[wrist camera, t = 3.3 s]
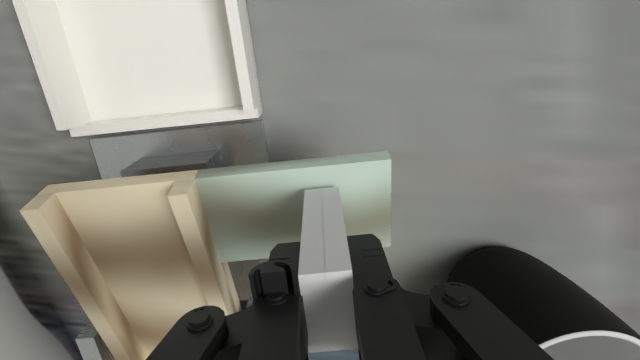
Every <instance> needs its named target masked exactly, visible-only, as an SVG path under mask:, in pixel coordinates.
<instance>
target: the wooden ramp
mask: <svg viewBox="0 0 640 360" xmlns="http://www.w3.org/2000/svg"><path fill="white" fill-rule="evenodd" d="M329 187H339V193H340V199H341V205H342V211H343V217H344V223H345V229H346V236H352V235H362V234H373V235H375V236H376V237H377V238H378V239H380V241H381V244H382V247H391V157H390V155H389V153H388V151H379V152H369V153H359V154H349V155H339V156H330V157H320V158H310V159H300V160H290V161H280V162H270V163H260V164H250V165H240V166H230V167H220V168H211V169H201V170H191V171H181V172H171V173H161V174H151V175H141V176H131V177H121V178H111V179H102V180H92V181H82V182H72V183H62V184H52V185H47V186H46V187H45V188H44V189H43V190H42V191H41V192H39V193H38V194H37V195H36V196H35V197H34V198H33V199H32V200H31V201H30V202H28V203H27V204H26V205H25V206H24V207H23V208H22V209H21V210H20V213H21V214H22V216H23V217H24V219H25V221H26V222H27V224H28V225H29V227H30V228H31V230H32V231H33V233H34V234H35V236H36V237H37V239H38V241H39V242H40V244H41V245H42V247H43V248H44V250H45V251H46V253H47V254H48V256H49V258H50V259H51V261H52V262H53V264H54V265H55V267H56V268H57V270H58V271H59V273H60V274H61V276H62V278H63V279H64V281H65V282H66V284H67V285H68V287H69V288H70V290H71V291H72V293H73V295H74V296H75V298H76V299H77V301H78V302H79V304H80V305H81V307H82V308H83V310H84V311H85V313H86V315H87V316H88V318H89V319H90V321H91V322H92V324H93V325H94V327H95V328H96V330H97V332H98V333H99V335H100V336H101V338H102V339H103V341H104V342H105V344H106V345H107V347H108V348H109V350H110V352H111V353H112V355H113V356H114V358H115V359H116V360H146V358H147V357H148V356H149V355H150V354H151V352H152V351H153V350H154V349H155V348H156V346H157V345H158V344H159V343H160V342H161V340H162V339H163V338H164V337H165V335H166V334H167V333H168V332H169V331H170V329H171V328H172V327H173V326H174V325H175V323H176V322H177V321H178V320H179V319H180V318H181V317H182V316H183V315H184V314H186V313H187V312H189V311H191V310H193V309H195V308H198V307H202V306H211V305H212V306H217V307H220V308H221V309H222V310H223V311H224V313H225V316H226V315H230V314H233V313H236V312H239V311H241V310H244V309H246V306H247V303H248V300H240V301H239V298H238V295H237V292H236V289H235V285H234V282H233V279H232V276H231V273H230V269H229V266H228V263H227V262H233V261H243V260H254V259H264V258H269V256H270V251H271V250H272V249H273V248H274V247H275V246H276V245H277V244H279V243H289V242H300V241H301V231H302V218H303V205H304V192H305V190H309V189H319V188H329Z"/></svg>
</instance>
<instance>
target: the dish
mask: <svg viewBox="0 0 640 360" xmlns="http://www.w3.org/2000/svg"><path fill="white" fill-rule="evenodd" d="M12 2H13V5H14V8H15V10H16V13H17V16H18V19H19V22H20V25H21V28H22V31H23V34H24V37H25V39H26V42H27V45H28V48H29V51H30V54H31V57H32V60H33V63H34V65H35V68H36V71H37V74H38V77H39V80H40V83H41V86H42V89H43V92H44V94H45V97H46V100H47V103H48V106H49V109H50V112H51V115H52V118H53V121H54V123H55V126H56V129H57V131H59V130H68V129H69V131H70V134H71V137H77V136H87V135H96V134H106V133H115V132H125V131H135V130H144V129H154V128H164V127H173V126H183V125H192V124H202V123H212V122H221V121H231V120H241V119H250V118H259V116H260V115H261V114H262V113H263V109H262V102H261V95H260V89H259V82H258V76H257V69H256V63H255V56H254V50H253V43H252V37H251V30H250V24H249V17H248V10H247V4H246V0H12Z"/></svg>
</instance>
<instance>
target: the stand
mask: <svg viewBox="0 0 640 360" xmlns="http://www.w3.org/2000/svg"><path fill="white" fill-rule="evenodd" d="M89 140H90V144H91V147H92V150H93V153H94V156H95V159H96V162H97V166H98V169H99V172H100V175H101V178H102V179H111V178H121V177H131V176H141V175H151V174H161V173H171V172H181V171H191V170H201V169H211V168H220V167H230V166H240V165H250V164H260V163H269V158H268V151H267V145H266V138H265V132H264V125H263V120H257V121H248V122H238V123H228V124H219V125H209V126H199V127H190V128H180V129H170V130H161V131H151V132H142V133H132V134H122V135H113V136H103V137H94V138H92V139H89ZM265 261H269V258H264V259H254V260H243V261H233V262H227V263H228V266H229V269H230V273H231V276H232V279H233V282H234V285H235V289H236V292H237V295H238V298H239V301H240V300H248V303H247V306H246V308H248V307H249V306H251V305H252V302H253V297H252V292H251V287H250V282H249V276H248V274H249V273H250V271H251V269H253V268H254V267H255V266H257V265H258V264H261V263H263V262H265ZM75 340H76V343H77V345H78V347H79V350H80V352H81V355H82V357H83V360H115V358H114V356H113V355H112V353H111V352H110V350H109V348H108V347H107V345H106V344H105V342H104V341H103V339H102V338H101V336H100V335H99V333H98V332H97V330H96V328H95V327H94V325H93V324H92V322H91V321H90V322H89V323H88V324H87V326H86V327H85V328H84V329H83V330H82V332H81V333H80V334H79V335H78V337H77V338H76V339H75Z"/></svg>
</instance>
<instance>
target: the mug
mask: <svg viewBox="0 0 640 360" xmlns="http://www.w3.org/2000/svg"><path fill="white" fill-rule="evenodd" d="M448 282H458V283H463V284H466V285H469V286H471V287H473V288H474V289H476V290H478V291H479V292H480V293H481V294H482V295H483V296H484V297H485V298H487V299H488V300H489V301H490V302H491V303H492V304H493V305H494V306H495V307H497V308H498V309H499V310H500V311H501V312H502V313H503V314H504V315H505V316H507V317H508V318H509V319H510V320H511V321H512V322H513V323H514V324H515V325H516V326H518V327H519V328H520V329H521V330H522V331H523V332H524V333H525V334H526V335H528V336H529V337H530V338H531V339H532V340H533V341H534V342H535V343H536V344H538V345H539V346H540V347H541V348H542V349H543V350H544V351H545V352H546V353H547V354H549V355H550V356H551V357H552V358H553V359H554V360H640V335H638V334H637V333H636V332H635V331H634V330H633V329H632V328H630V327H629V326H628V325H627V324H626V323H625V322H623V321H622V320H621V319H620V318H619V317H618V316H616V315H615V314H614V313H613V312H611V311H610V310H609V309H608V308H606V307H605V306H604V305H603V304H601V303H600V302H599V301H598V300H596V299H595V298H594V297H592V296H591V295H590V294H589V293H587V292H586V291H585V290H583V289H582V288H580V287H579V286H578V285H576V284H575V283H574V282H572V281H571V280H569V279H568V278H567V277H565V276H564V275H562V274H561V273H559V272H558V271H556V270H555V269H553V268H552V267H550V266H549V265H547V264H545V263H544V262H542V261H540V260H539V259H537V258H535V257H533V256H531V255H529V254H527V253H525V252H522V251H519V250H516V249H512V248H507V247H488V248H483V249H480V250H477V251H475V252H473V253H471V254H469V255H467V256H466V257H465V258H463V259H462V260H461V261H460V262H459V263H458V264H457V265H456V266H455V268H454V269H453V271H452V272H451V275H450V277H449V279H448Z"/></svg>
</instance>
